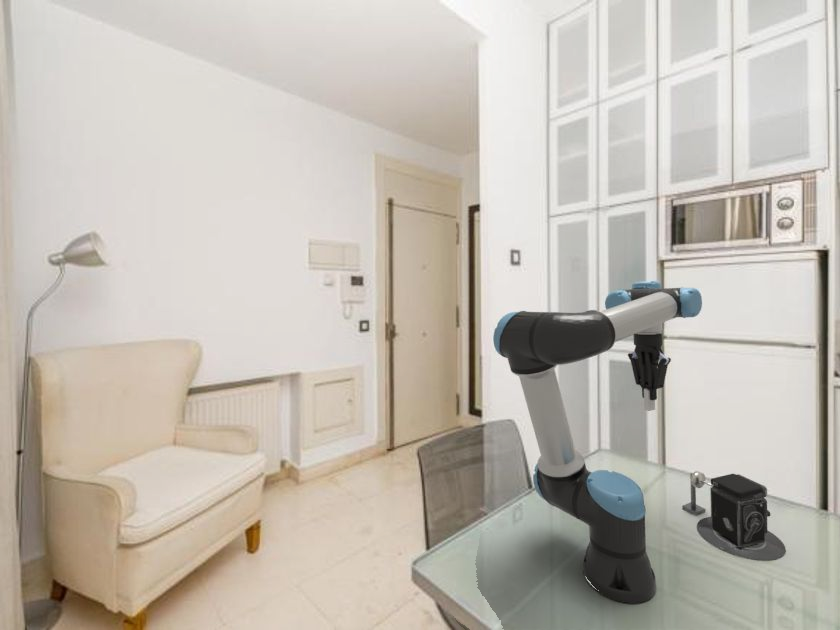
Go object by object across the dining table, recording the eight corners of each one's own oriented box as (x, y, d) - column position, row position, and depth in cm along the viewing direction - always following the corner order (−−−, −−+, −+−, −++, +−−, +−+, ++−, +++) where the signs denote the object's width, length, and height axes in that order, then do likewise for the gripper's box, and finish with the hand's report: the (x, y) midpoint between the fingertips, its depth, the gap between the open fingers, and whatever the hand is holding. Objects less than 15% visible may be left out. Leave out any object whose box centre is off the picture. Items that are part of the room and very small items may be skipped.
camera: (779, 545, 99) (778, 487, 98) (743, 553, 97) (742, 494, 96) (738, 521, 109) (737, 469, 108) (706, 528, 107) (704, 475, 106)
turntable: (757, 569, 92) (757, 568, 92) (681, 528, 109) (681, 527, 109) (802, 546, 98) (801, 545, 98) (723, 510, 115) (723, 509, 115)
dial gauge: (712, 524, 109) (711, 481, 109) (681, 509, 117) (680, 469, 117) (722, 519, 111) (721, 477, 110) (691, 505, 119) (690, 465, 118)
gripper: (677, 333, 114) (679, 413, 115) (638, 329, 126) (640, 402, 128) (658, 335, 111) (660, 417, 113) (620, 332, 124) (622, 406, 125)
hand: (649, 409), depth 120 cm, fingers closed
